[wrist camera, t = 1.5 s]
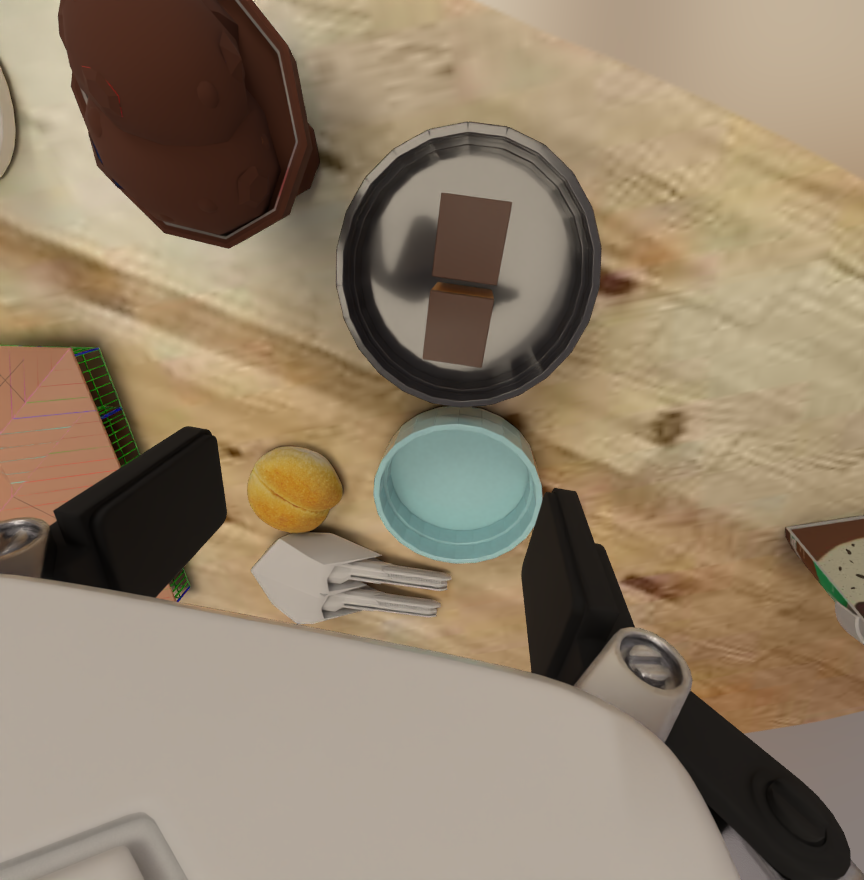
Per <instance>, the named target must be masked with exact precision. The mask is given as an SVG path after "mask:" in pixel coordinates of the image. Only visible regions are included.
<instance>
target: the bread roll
mask: <svg viewBox="0 0 864 880" xmlns="http://www.w3.org/2000/svg"><path fill="white" fill-rule="evenodd" d="M342 493H343V490H342V484H341V482H340V480H339V478H338V476H337V474H336V472H335V471H334V469H333V467H332V465H331V464H330V462H329V461H328V460H327V459H326V458H325V457H324V456H322V455H321V454H319V453H317V452H315V451H312V450H310V449H306V448H302V447H293V446H287V447H279V448H276V449H274V450H272V451H270V452H268V453H266V454H265V455H264V456H262V457H261V458H260V459H259V460H258V461H257V462H256V464H255V465H254V468H253V470H252V472H251V474H250V477H249V480H248V485H247V495H248V500H249V503H250V506H251V507H252V509H253V511H254V512H255V514H256V515H257V516H258V517H259V518H260V519H261V520H262V521H264V522H265V523H266V524H268V525H270V526H272V527H274V528H276V529H278V530H282V531H285V532H290V533H303V532H308V531H311V530H313V529H315V528H316V527H318V526H319V525H320V524H321V523H322V522H323V521H324V520H325V518H326V517H327V515H328V512H329V510H330V508H332V507H334V506H335V505H336V504H338V502H339V501H340V500H341V497H342Z"/></svg>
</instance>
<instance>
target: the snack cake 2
mask: <svg viewBox="0 0 864 880" xmlns="http://www.w3.org/2000/svg"><path fill="white" fill-rule="evenodd" d="M493 304H494V297H493V293H492V290H490V289H483V288H477V287H470V286H463V285H456V284H449V283H442V282H437V283H436V284H435V286H434V287H433V288H432V289H431V290H430V297H429V305H428V314H427V323H426V332H425V340H424V349H423V359H425V360H432V361H439V362H445V363H452V364H459V365H465V366H472V367H479V368H481V367H482V363H483V358H484V352H485V347H486V342H487V336H488V331H489V326H490V320H491V315H492V309H493Z"/></svg>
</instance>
